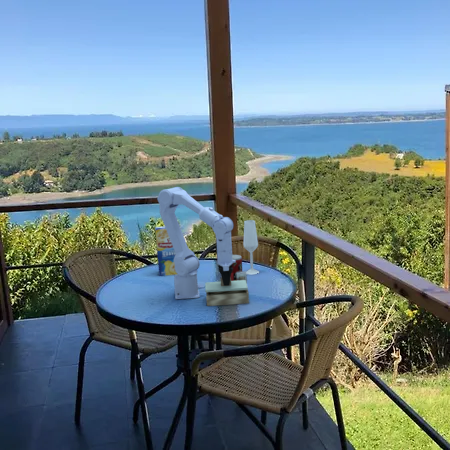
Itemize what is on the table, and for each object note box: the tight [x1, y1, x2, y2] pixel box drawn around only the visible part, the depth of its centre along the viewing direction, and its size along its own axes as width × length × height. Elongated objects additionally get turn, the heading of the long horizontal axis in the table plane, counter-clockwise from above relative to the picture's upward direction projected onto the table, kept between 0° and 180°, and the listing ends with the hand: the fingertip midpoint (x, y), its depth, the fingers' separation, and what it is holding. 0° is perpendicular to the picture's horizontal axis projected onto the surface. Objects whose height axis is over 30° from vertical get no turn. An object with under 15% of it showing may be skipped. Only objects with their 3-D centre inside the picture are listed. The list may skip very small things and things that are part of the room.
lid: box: [204, 276, 249, 293], centre depth 197 cm, size 16×10×4 cm, turn 92°
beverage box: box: [154, 226, 178, 277], centre depth 239 cm, size 7×11×22 cm, turn 98°
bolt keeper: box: [236, 270, 248, 284], centre depth 207 cm, size 4×4×8 cm
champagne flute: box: [242, 219, 260, 275], centre depth 232 cm, size 7×7×24 cm
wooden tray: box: [205, 289, 250, 307], centre depth 197 cm, size 16×10×4 cm, turn 92°
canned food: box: [231, 254, 243, 281], centre depth 222 cm, size 8×8×11 cm
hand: (226, 284), depth 197 cm, fingers closed on lid, 2 cm apart
